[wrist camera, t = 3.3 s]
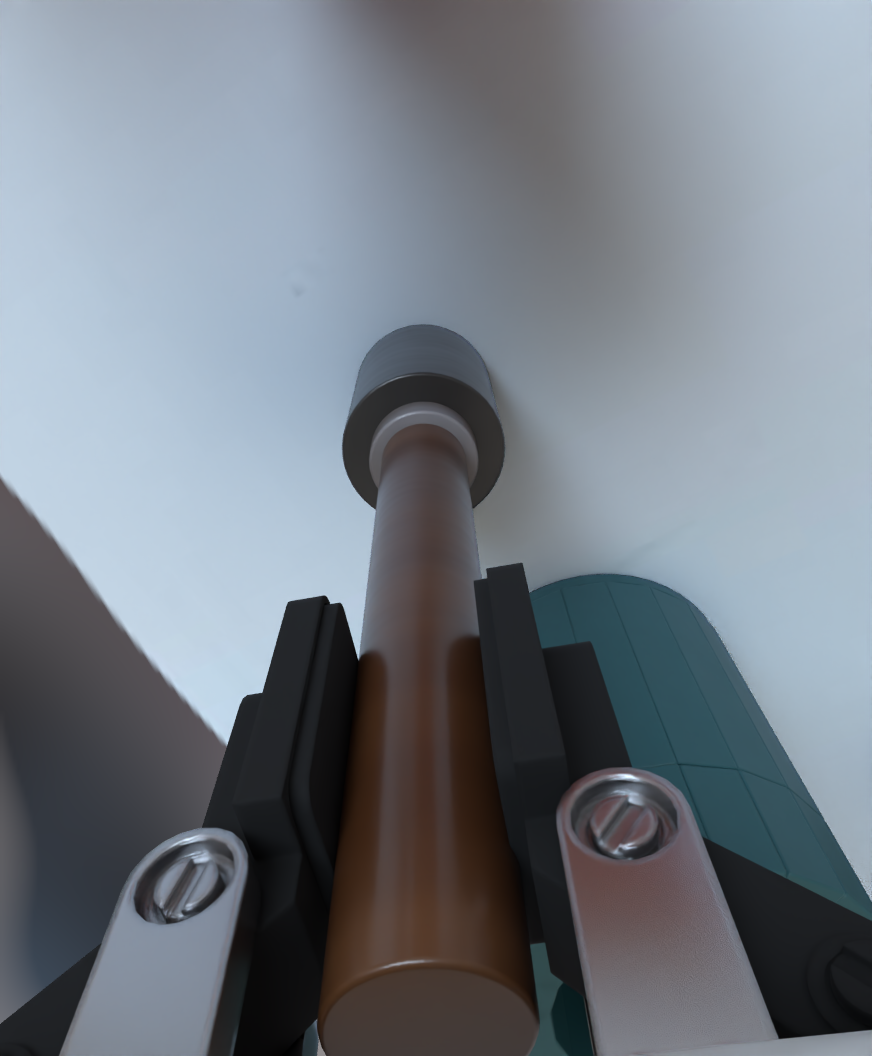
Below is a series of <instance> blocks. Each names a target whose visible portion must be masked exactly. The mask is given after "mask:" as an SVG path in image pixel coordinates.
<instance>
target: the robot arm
mask: <svg viewBox="0 0 872 1056" xmlns="http://www.w3.org/2000/svg"><path fill="white" fill-rule="evenodd" d="M486 571H487V578H486V579H480V580H474V591H475V600H476V609H477V618H478V627H479V636H480V645H481V654H482V663H483V672H484V681H485V690H486V699H487V708H488V717H489V726H490V735H491V744H492V752H493V759H494V766H495V772H496V778H497V784H498V789H499V794H500V799H501V804H502V809H503V814H504V819H505V824H506V829H507V834H508V839H509V844H510V847H511V849H512V850H513V851H514V853H515V855H516V857H517V859H518V863H519V866H520V872H521V880H522V887H523V895H524V902H525V910H526V918H527V925H528V933H529V940H530V945H532V944H539V943H545V945H546V950H547V956H548V961H549V967H550V972H551V974H553V975H554V976H555V977H557V978H558V979H560V980H561V981H562V982H564V983H565V984H567V985H568V986H569V987H571V988H572V989H573V990H575V991H576V992H578V993H579V994H580V995H582V996H583V997H584V1002H585V1009H586V1014H587V1020H588V1026H589V1031H590V1037H591V1043H592V1048H593V1054H594V1056H872V921H871V920H869V919H867V918H865V917H863V916H861V915H859V914H857V913H855V912H853V911H851V910H849V909H847V908H845V907H843V906H841V905H839V904H837V903H835V902H833V901H831V900H829V899H827V898H825V897H823V896H821V895H819V894H817V893H815V892H813V891H811V890H809V889H807V888H805V887H803V886H801V885H799V884H797V883H795V882H793V881H791V880H789V879H787V878H785V877H783V876H781V875H779V874H777V873H775V872H773V871H771V870H769V869H767V868H765V867H763V866H761V865H759V864H757V863H755V862H753V861H751V860H749V859H747V858H744V857H742V856H740V855H738V854H736V853H734V852H732V851H730V850H728V849H726V848H724V847H722V846H720V845H718V844H716V843H714V842H712V841H710V840H708V839H706V838H704V837H702V836H701V834H700V831H699V828H698V826H697V823H696V820H695V818H694V815H693V813H692V810H691V807H690V805H689V804H688V802H687V801H686V799H685V797H684V796H683V794H682V792H681V791H680V790H679V789H677V788H676V787H675V786H674V785H673V784H672V783H670V782H669V781H668V780H667V779H665V778H662V777H660V776H658V775H656V774H654V773H652V772H650V771H645V770H641V769H636V768H632V765H631V762H630V758H629V755H628V752H627V749H626V746H625V743H624V740H623V737H622V734H621V731H620V728H619V725H618V721H617V718H616V715H615V712H614V709H613V706H612V703H611V700H610V697H609V694H608V691H607V688H606V684H605V681H604V678H603V675H602V672H601V669H600V666H599V663H598V660H597V657H596V654H595V651H594V648H593V645H592V643H591V642H590V641H586V642H580V643H573V644H567V645H561V646H554V647H548V648H541V643H540V639H539V634H538V630H537V626H536V621H535V617H534V612H533V608H532V603H531V599H530V595H529V590H528V586H527V581H526V577H525V572H524V568H523V564H522V563H517V564H511V565H505V566H499V567H493V568H487V569H486ZM358 662H359V661H358V658H357V654H356V651H355V647H354V643H353V640H352V636H351V633H350V629H349V625H348V622H347V618H346V615H345V611H344V608H343V606H342V604H341V603H335V604H330V602H329V600H328V598H327V597H326V596H319V597H313V598H307V599H301V600H295V601H290V602H288V604H287V606H286V610H285V613H284V617H283V620H282V624H281V628H280V631H279V635H278V638H277V642H276V646H275V649H274V653H273V657H272V660H271V664H270V667H269V671H268V675H267V678H266V682H265V685H264V689H263V693H258V694H252V695H247V696H246V697H244V698H243V700H242V702H241V704H240V706H239V710H238V713H237V716H236V719H235V723H234V726H233V729H232V732H231V735H230V739H229V742H228V745H227V748H226V752H225V755H224V758H223V761H222V765H221V768H220V771H219V774H218V777H217V781H216V784H215V788H214V790H213V794H212V797H211V800H210V803H209V807H208V810H207V813H206V816H205V820H204V823H203V826H202V828H199V829H195V830H191V831H188V832H185V833H181V834H179V835H177V836H175V837H173V838H171V839H169V840H167V841H165V842H163V843H162V844H160V845H159V846H158V847H156V848H155V849H154V850H152V851H151V852H150V853H149V854H147V855H146V856H145V857H144V858H143V859H142V860H141V862H140V863H139V864H138V865H137V866H136V867H135V868H134V870H133V871H132V872H131V874H130V876H129V878H128V879H127V882H126V883H125V885H124V887H123V889H122V891H121V894H120V897H119V899H118V902H117V905H116V907H115V910H114V913H113V915H112V918H111V920H110V923H109V926H108V928H107V931H106V934H105V936H104V939H103V941H102V943H101V944H100V945H98V946H97V947H96V948H95V949H93V950H92V951H91V952H90V953H88V954H87V955H86V956H85V957H83V958H82V959H81V960H80V961H79V962H77V963H76V964H75V965H73V966H72V967H71V968H70V969H68V970H67V971H66V972H65V973H64V974H62V975H61V976H60V977H58V978H57V979H56V980H55V981H53V982H52V983H51V984H50V985H49V986H47V987H46V988H45V989H43V990H42V991H41V992H40V993H38V994H37V995H36V996H35V997H33V998H32V999H31V1000H30V1001H29V1002H27V1003H26V1004H25V1005H24V1006H22V1007H21V1008H20V1009H18V1010H17V1011H16V1012H15V1013H14V1014H12V1015H11V1016H10V1017H8V1018H7V1019H6V1020H5V1021H3V1022H2V1023H1V1024H0V1056H317V1050H318V1040H319V1039H318V1033H317V1021H316V1020H317V1018H318V1009H319V1000H320V992H321V983H322V974H323V966H324V957H325V948H326V940H327V931H328V922H329V913H330V905H331V896H332V887H333V879H334V870H335V862H336V853H337V844H338V836H339V827H340V818H341V810H342V801H343V792H344V784H345V775H346V766H347V757H348V749H349V740H350V731H351V723H352V714H353V705H354V697H355V688H356V679H357V671H358Z"/></svg>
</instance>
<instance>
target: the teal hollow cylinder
mask: <svg viewBox="0 0 872 1056" xmlns="http://www.w3.org/2000/svg"><path fill="white" fill-rule="evenodd" d="M529 595H530V599H531V603H532V608H533V612H534V617H535V621H536V626H537V630H538V634H539V639H540V643H541V648H548V647H554V646H561V645H567V644H573V643H580V642H586V641H590V642H591V643H592V645H593V648H594V651H595V654H596V657H597V660H598V663H599V666H600V669H601V672H602V675H603V678H604V681H605V684H606V688H607V691H608V694H609V697H610V700H611V703H612V706H613V709H614V712H615V715H616V718H617V721H618V725H619V728H620V731H621V734H622V737H623V740H624V743H625V746H626V749H627V752H628V755H629V758H630V762H631V765H632V768H636V769H641V770H645V771H650V772H652V773H654V774H656V775H658V776H660V777H662V778H665V779H667V780H668V781H669V782H670V783H672V784H673V785H674V786H675V787H676V788H677V789H679V790H680V791H681V792H682V794H683V796H684V797H685V799H686V801H687V802H688V804H689V805H690V807H691V810H692V813H693V815H694V818H695V820H696V823H697V826H698V828H699V831H700V834H701V836H702V837H704V838H706V839H708V840H710V841H712V842H714V843H716V844H718V845H720V846H722V847H724V848H726V849H728V850H730V851H732V852H734V853H736V854H738V855H740V856H742V857H744V858H747V859H749V860H751V861H753V862H755V863H757V864H759V865H761V866H763V867H765V868H767V869H769V870H771V871H773V872H775V873H777V874H779V875H781V876H783V877H785V878H787V879H789V880H791V881H793V882H795V883H797V884H799V885H801V886H803V887H805V888H807V889H809V890H811V891H813V892H815V893H817V894H819V895H821V896H823V897H825V898H827V899H829V900H831V901H833V902H835V903H837V904H839V905H841V906H843V907H845V908H847V909H849V910H851V911H853V912H855V913H857V914H859V915H861V916H863V917H865V918H867V919H869V920H871V921H872V902H871V900H870V898H869V896H868V895H867V893H866V891H865V889H864V888H863V886H862V884H861V882H860V881H859V879H858V877H857V875H856V874H855V872H854V870H853V869H852V867H851V865H850V863H849V862H848V860H847V858H846V856H845V855H844V853H843V851H842V849H841V848H840V846H839V844H838V842H837V841H836V839H835V837H834V836H833V834H832V832H831V830H830V829H829V827H828V825H827V823H826V822H825V821H824V818H823V816H822V815H821V813H820V811H819V809H818V808H817V806H816V804H815V802H814V801H813V799H812V797H811V795H810V794H809V792H808V790H807V789H806V787H805V785H804V783H803V782H802V780H801V778H800V776H799V775H798V773H797V771H796V769H795V768H794V766H793V764H792V762H791V761H790V759H789V757H788V756H787V754H786V752H785V750H784V749H783V747H782V745H781V743H780V742H779V740H778V738H777V736H776V735H775V733H774V731H773V729H772V728H771V726H770V724H769V723H768V721H767V719H766V717H765V716H764V714H763V712H762V710H761V709H760V707H759V705H758V703H757V702H756V700H755V698H754V697H753V695H752V693H751V691H750V690H749V688H748V686H747V684H746V683H745V681H744V679H743V677H742V676H741V674H740V672H739V670H738V669H737V667H736V665H735V664H734V662H733V660H732V658H731V657H730V655H729V653H728V651H727V650H726V648H725V646H724V644H723V643H722V641H721V639H720V637H719V636H718V634H717V632H716V631H715V629H714V628H713V626H712V625H711V624H710V623H709V622H708V620H707V619H706V617H705V616H704V615H703V614H702V613H701V612H700V610H699V609H698V608H697V607H696V606H695V605H694V604H692V603H691V602H690V601H689V600H687V599H686V598H685V597H683V596H682V595H680V594H679V593H677V592H675V591H673V590H671V589H670V588H668V587H666V586H663V585H660V584H658V583H655V582H653V581H650V580H646V579H642V578H638V577H633V576H625V575H617V574H596V575H587V576H579V577H574V578H570V579H565V580H561V581H558V582H555V583H552V584H550V585H547V586H544V587H542V588H540V589H538V590H536V591H533V592H531V593H529ZM530 948H531V955H532V963H533V970H534V978H535V986H536V993H537V1001H538V1008H539V1017H540V1027H539V1033H538V1037H537V1040H536V1042H535V1045H534V1047H533V1049H532V1051H531V1053H530V1054H529V1055H528V1056H594V1054H593V1048H592V1043H591V1037H590V1031H589V1026H588V1020H587V1014H586V1009H585V1002H584V997H583V996H582V995H580V994H579V993H578V992H576V991H575V990H573V989H572V988H571V987H569V986H568V985H567V984H565V983H564V982H562V981H561V980H560V979H558V978H557V977H555V976H554V975H553V974H551V972H550V967H549V961H548V956H547V950H546V945H545V943H539V944H532V945H530Z"/></svg>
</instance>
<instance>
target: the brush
mask: <svg viewBox="0 0 872 1056" xmlns="http://www.w3.org/2000/svg"><path fill="white" fill-rule="evenodd" d="M342 455H343V461H344V466H345V469H346V472H347V475H348V477H349V479H350V481H351V483H352V485H353V487H354V488H355V490H356V491H357V493H358V494H359V495H360V496H361V497H362V498H363V499H364V500H365V501H366V502H367V503H368V504H369V505H370V506H371V507H373V508H374V509H376V514H375V523H374V532H373V540H372V549H371V558H370V566H369V575H368V584H367V592H366V601H365V610H364V618H363V627H362V636H361V644H360V653H359V662H358V671H357V679H356V688H355V697H354V705H353V714H352V723H351V731H350V740H349V749H348V757H347V766H346V775H345V784H344V792H343V801H342V810H341V818H340V827H339V836H338V844H337V853H336V862H335V870H334V879H333V887H332V896H331V905H330V913H329V922H328V931H327V940H326V948H325V957H324V966H323V974H322V983H321V992H320V1000H319V1009H318V1018H317V1033H318V1036H319V1040H320V1043H321V1046H322V1048H323V1050H324V1052H325V1054H326V1056H528V1055H529V1054H530V1053H531V1051H532V1049H533V1047H534V1045H535V1042H536V1040H537V1037H538V1033H539V1027H540V1017H539V1008H538V1001H537V993H536V986H535V978H534V970H533V963H532V955H531V948H530V940H529V933H528V925H527V918H526V910H525V902H524V895H523V887H522V880H521V872H520V866H519V863H518V859H517V857H516V855H515V853H514V851H513V850H512V849H511V847H510V844H509V839H508V834H507V829H506V824H505V819H504V814H503V809H502V804H501V799H500V794H499V789H498V784H497V778H496V772H495V766H494V759H493V752H492V744H491V735H490V726H489V717H488V708H487V699H486V690H485V681H484V672H483V663H482V654H481V645H480V636H479V627H478V618H477V609H476V600H475V591H474V580H480V579H482V578H481V570H480V562H479V555H478V547H477V540H476V532H475V525H474V517H473V510H472V509H473V508H475V507H476V506H477V505H478V504H479V503H480V502H482V501H483V500H484V498H485V497H486V496H487V495H488V494H489V493H490V491H491V490H492V488H493V487H494V486H495V484H496V482H497V480H498V478H499V476H500V473H501V470H502V467H503V462H504V457H505V440H504V434H503V429H502V425H501V421H500V418H499V414H498V410H497V406H496V403H495V399H494V395H493V391H492V387H491V384H490V380H489V376H488V372H487V369H486V367H485V364H484V362H483V360H482V358H481V356H480V355H479V353H478V352H477V351H476V349H475V348H474V347H473V346H472V345H471V344H470V343H469V342H468V341H467V340H465V339H464V338H463V337H462V336H460V335H458V334H457V333H455V332H453V331H450V330H448V329H446V328H442V327H439V326H433V325H413V326H408V327H404V328H400V329H398V330H396V331H393V332H391V333H390V334H388V335H386V336H385V337H383V338H382V339H381V340H379V341H378V342H377V343H376V344H375V345H374V346H373V347H372V348H371V350H370V351H369V352H368V354H367V355H366V357H365V359H364V360H363V362H362V365H361V367H360V370H359V373H358V377H357V382H356V386H355V390H354V394H353V398H352V402H351V406H350V410H349V414H348V418H347V422H346V426H345V430H344V434H343V442H342Z"/></svg>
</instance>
